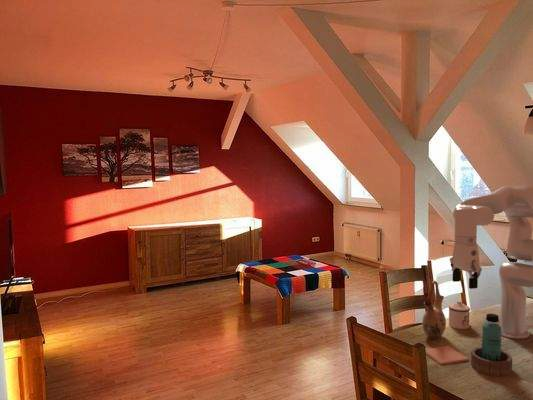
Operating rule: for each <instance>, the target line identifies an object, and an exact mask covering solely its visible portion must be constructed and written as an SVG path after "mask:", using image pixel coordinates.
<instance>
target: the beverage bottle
mask: <svg viewBox="0 0 533 400" xmlns="http://www.w3.org/2000/svg"><path fill="white" fill-rule="evenodd" d="M485 321H487V322H485V323H483V324H482V333H481V334H482V335H481V336H482V337H481V338H482V339H481V346H480V347H481V350H482V358H483V359H486V360H489V361H498V362H500V360H501V350H502V335H501V330H502V328H501V326H500V324H499V321H500V319H499V315H498V314H495V313H487V314H486V317H485Z"/></svg>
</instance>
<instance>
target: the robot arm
mask: <svg viewBox="0 0 533 400" xmlns="http://www.w3.org/2000/svg"><path fill="white" fill-rule="evenodd" d="M503 212H504V214H505V216H506V217H507V220H508V223H509V232H508V234H509V235H508V238H507V244H506V255H507V256H508V257H509V258H511V259H513V260H518V261H524V262H529V263H533V239H532V236H533V226H532V223H531V222H530V220H529V219H528V218H532V219H533V186H530V185H517V184H515V185H512V184H511V185H504V186H501V187H500V188H498V189H496V190H495V191H493V192H492V193H490V194H489V193H488V194H486V195H479V196H476V197H473V198H469V199H466V200H463V201H461V202H460V203H459V204H457V205H456V206H455V207H454V209H453V213H452V215H453V216H452V217H453V219H454V244H453V252H452V257H450V258H449V263H450V267H451V271H452V282H462V281H461V279H462V271H464V272H466V273H468V275H469V278H468V288H469V289H470V290H473V289H478V286H479V283H478V281H479V280H478V279H479V278H480V275H481V273H482V270H483V268H482V266H480V252H479V246H478V244H477V240H478V239H477V237H478V236H477V231H478V230H477V226H484V227H485V226H488V225H491V223H493V222H494V218H495V215H498V214H502V213H503ZM498 274H499V279H500V289H501V290H500V320H499V321H500V324H499V325H500V326H501V328H502V330H501V337H502V336H503V337H505V338H510V339H516V340H517V339H518V340H523V339H524V340H525V339H527V338H529V337H530V332H529V331H528V330H529V329H533V323H527V322H526V317H527V316H526V312H527V311H526V310H527V294H526V292H525V290H524V288H523V287H525V288H529V289H533V264H526V263H522V262H516V261H506V262H503V263H502V264H501V265H500V266H499V270H498Z"/></svg>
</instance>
